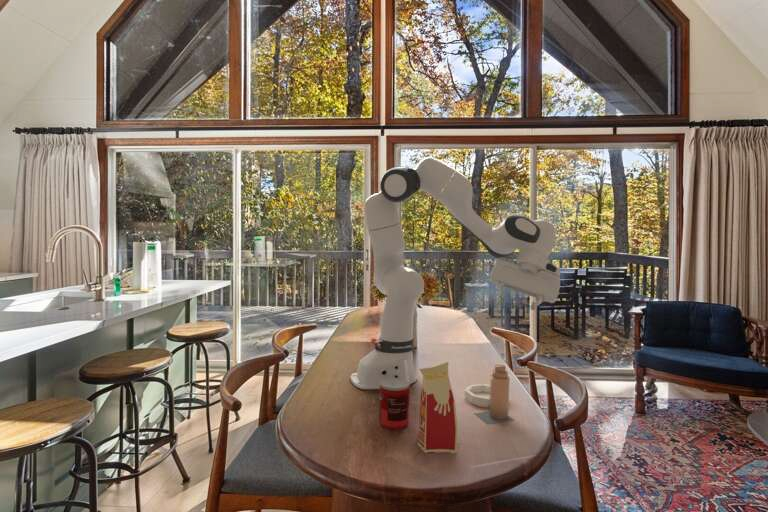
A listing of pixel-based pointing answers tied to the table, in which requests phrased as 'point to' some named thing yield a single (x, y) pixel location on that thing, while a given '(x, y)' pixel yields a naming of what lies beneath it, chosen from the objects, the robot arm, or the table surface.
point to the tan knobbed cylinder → (499, 393)
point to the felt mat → (488, 420)
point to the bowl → (478, 394)
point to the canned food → (394, 403)
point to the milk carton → (437, 411)
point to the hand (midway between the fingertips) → (516, 303)
